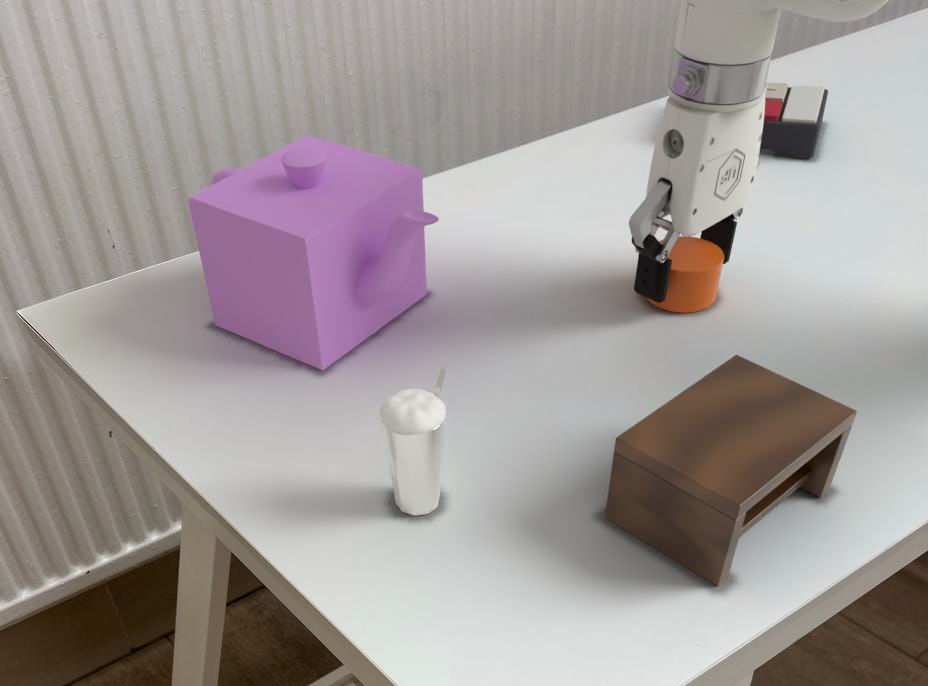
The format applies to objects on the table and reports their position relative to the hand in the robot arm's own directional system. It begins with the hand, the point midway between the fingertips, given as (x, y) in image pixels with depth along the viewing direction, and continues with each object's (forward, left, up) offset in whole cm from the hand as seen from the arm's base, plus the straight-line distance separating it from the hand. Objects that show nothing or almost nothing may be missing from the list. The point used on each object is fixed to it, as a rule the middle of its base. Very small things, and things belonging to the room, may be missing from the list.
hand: (681, 277), depth 90 cm
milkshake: (-4, +37, -2) cm, 37 cm away
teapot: (+21, +25, -2) cm, 33 cm away
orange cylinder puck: (0, 0, -2) cm, 2 cm away
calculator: (+16, -35, -2) cm, 39 cm away
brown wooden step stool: (-20, +22, -2) cm, 30 cm away
